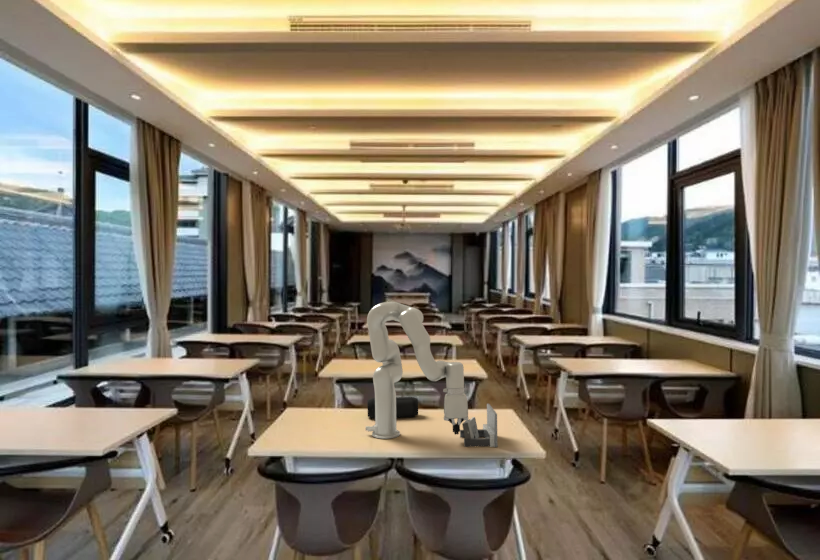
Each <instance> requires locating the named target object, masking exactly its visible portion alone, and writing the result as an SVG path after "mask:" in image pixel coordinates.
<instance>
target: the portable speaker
mask: <svg viewBox="0 0 820 560" xmlns="http://www.w3.org/2000/svg"><path fill="white" fill-rule="evenodd" d="M418 415H419V400H418V398H417V397H414V396H398V397H397V396H396V418H411V417H412V418H413V417H416V416H418ZM367 417H369V418H371V419H375V397H372V398H369V399H367Z"/></svg>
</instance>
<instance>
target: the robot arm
mask: <svg viewBox="0 0 820 560" xmlns="http://www.w3.org/2000/svg"><path fill="white" fill-rule="evenodd" d="M390 321H395V322H397V323H398V322H399V324H400V326H401V327H402V329H403V331H404V333H405V334H406V336H407V338H408V340H409V341H410V343H411V345H412V347H413V351H414V355H415V359H416V361H417V364H418V366H419V368H420V370H421V371H422V374H423V375H424V376H425V377H426V378H427V380H429V381H431V382H437V381H439V380H441V379H444V378H445V382H446V383H445V385H446V386H445V387H446V388H443V391H442V392H443V393H445V395H444V401H443V414H444V415H443V420H444V421H446V422H449V423H450V424H452V433H454V435H456V436H457V435H460V430H461V428H460V427H461V424H463V423H464V422H465V421H466V420H468V419H469V406H468V397H467V393H465V378H464V375H465V373H464V363H462V362H460V361H451V362H450V361H445V360H437V361H436V360H435V357H434V356H433V354H432V351H431V336H430V334H429V333H428V331H427V330H426V328H425V326H424V314H423V312H422V311H421V310H420V309H418V308H415V307H412V306H409V305H406V304H402V303H400V302H397V301H384V302H380V303H378V304H376V305H374V306H373V307H371V309H370V310H369V312H368V314H367V317H366V323H367V325H366V326H367V329H368V336H369V342H370V343H369V344H370V351H371V354H372V358H373V360H374V361H375V362H377V363H381V364H382V365H380V366H378V367H377V368H376V369H375V370H374V372H373V374H372V382H373V383H372V384H373V388H374V398H375V418H374V421H375V422H374V425H371V426H370V425H369V426H368V425H365V431H366V432H371V436H372V437H374V438H377V439H383V440H385V439H395V438H397V437H399V436H400V435H401V431H399V430H398V429H397V427H398V426H397V417H396V397H397V392H396V387H395V383H398V382H399V381H400V380H401V379H402V377H403V374H404V373H403V372H404V371H403V364H402V358H401V352H400V348H399V345H398V343H397V342H396V341H394V340H392V339H389V331H388V329H387V326H386V323H387V322H390ZM456 420H457V421H456Z"/></svg>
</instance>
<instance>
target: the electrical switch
mask: <svg viewBox="0 0 820 560" xmlns="http://www.w3.org/2000/svg"><path fill="white" fill-rule="evenodd" d="M461 424H462V430H464V436H465V437H464V439H471V438H480V437H479V434H478V425H477V420H476V416H472V417H471V418H470V419H468V420H465V421H463V422H462V423H461ZM466 430H467V431H466ZM467 432H468V433H467ZM467 434H468V435H467Z"/></svg>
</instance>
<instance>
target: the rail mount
mask: <svg viewBox="0 0 820 560" xmlns="http://www.w3.org/2000/svg"><path fill="white" fill-rule="evenodd" d="M477 429H478V428H477ZM466 431H467V430H466ZM467 433H468V432H467ZM478 434H479V438H471V439H465V436H464V430H463V429H460V432H459V438H461V437H462V438H463V446H464V448H466V447H467V448H469V447H471V448H472V447H473V448H474V447H475V446H476V447H477V446H478V447H490V448H496V447H498V413H497V412H496V410H495V409H494V408H493V406H491V403H486V423H484V424H482V429H478ZM467 435H468V434H467ZM484 437H485V438H484Z"/></svg>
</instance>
